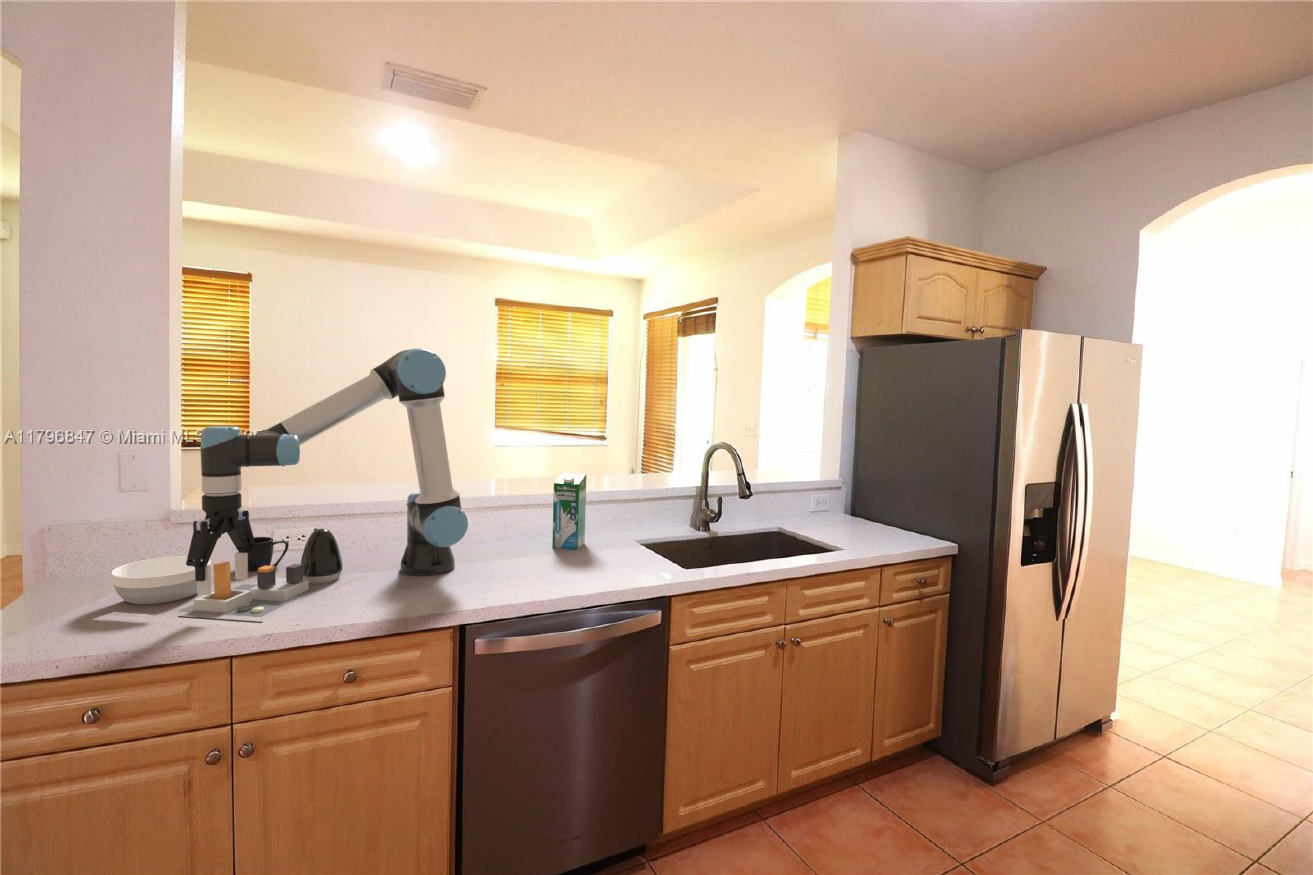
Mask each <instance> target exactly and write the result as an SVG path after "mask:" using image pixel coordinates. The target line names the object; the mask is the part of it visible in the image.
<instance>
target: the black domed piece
mask: <svg viewBox="0 0 1313 875" xmlns="http://www.w3.org/2000/svg"><path fill="white" fill-rule="evenodd" d="M338 544H339V543H338V541H337V539H336V537H335V535H334V534H333V533H332V532H331V531H330V530H329V529H327V528H314V529H313V531H312V532H311V534H310V535H309V537H308V539H307V540H306V543H305V545H304V549H303V551H302V555H301V559H300V564H303V580H309V584H325V583H330V582H334V581H337V580H338V579H339V578H340V576H341V573H342V571H343V568H344V567H343V558H342V554H341V550H340V548H339V545H338Z"/></svg>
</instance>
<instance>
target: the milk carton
mask: <svg viewBox="0 0 1313 875" xmlns="http://www.w3.org/2000/svg"><path fill="white" fill-rule="evenodd" d="M552 500H553V502H552V503H553V506H552V549H553V548H554V549H556V548H557V549H563V550H564V549H566V550H567V549H568V550H579V548H581V547H582V546H583V545H584V544H585V542H586V541H585V540H586V539H585V538H586V537H585V536H586V510H587V508H586V505H587V504H586V500H587V474H585V473H584V474H581V473H564V472H563V473H561V474H560V476H559V477H557V479H556V480H555V481H554V482H553V499H552Z"/></svg>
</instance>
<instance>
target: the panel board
mask: <svg viewBox="0 0 1313 875" xmlns="http://www.w3.org/2000/svg"><path fill="white" fill-rule="evenodd" d="M275 578H276V585H274V586H272V587H270V588H268V589H261V588H258V584H252V583H250V584H249V583H243V584H240V585H238V586H235V587H233V588H231V597H232V598H230V599H227V600H216V599H215V592H214V591H211V594H210V595H202V596H200V597H197V598H194V599H193V604H191V605H190V606H186V607H184V608H182V609H179V610H178V612H182V613H185V612H186V613H199V614H212V615H213V614H214V615H215V614H216V615H229V616H242V617H254V618H255V617H259V618H261V617H263V616H266V615H267V614H270V613H272V612H273V611H275V610H277V609H279V608H281V607H284V606H286V605H287V604H289V603H291V602H293V601H295V600H297V599H300V598H302V597H303V596H305V595H308V594H309V593H312V592H313V591H315V590H316V588H311V587H310V583H309V580H302V581H299V582H297V583H286V577H284V578H282V577H275ZM177 618H179V619H180V618H182V619H197V620H209V621H211V620H212V621H224V622H226V621H227V622H236V623H237V622H239V623H240V622H241V623H250V624H251V623H253V624H263V621H256V620H242V619H241V620H240V619H229V618H212V617H201V616H186V615H178V616H177Z"/></svg>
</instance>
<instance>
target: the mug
mask: <svg viewBox="0 0 1313 875" xmlns="http://www.w3.org/2000/svg"><path fill="white" fill-rule="evenodd" d="M254 540H255V543H256V546H255V547H252V548H253V551H252V552H249V559H248V560H249V563H248V572H258V568H260V567H263V566H275V568H277V567H278V566H279V564H280V562H281V561H282V559H283V558H284V557H285V555H286V553H287V552H288V550H289V545H290V544H289V541H288V540H279V541H278V540H277V541H274V538H273V537H269V536H255V537H254ZM248 542H249V541H248ZM278 544H284V545H285V546H284V549H283V551H282V554H281V555H280V557H279V558H278V559H277V561H276V562H275V563H274V564H272V559H273V555H274V546H275V545H278Z"/></svg>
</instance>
